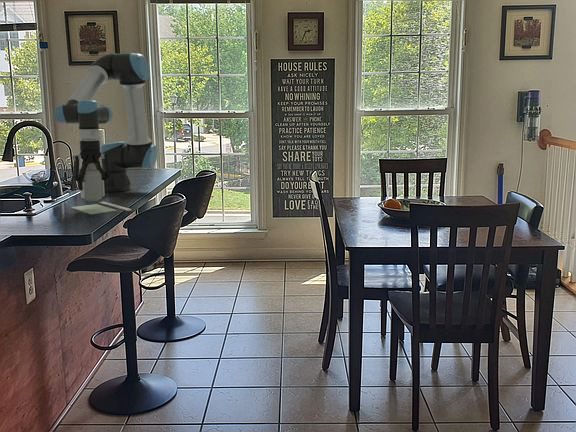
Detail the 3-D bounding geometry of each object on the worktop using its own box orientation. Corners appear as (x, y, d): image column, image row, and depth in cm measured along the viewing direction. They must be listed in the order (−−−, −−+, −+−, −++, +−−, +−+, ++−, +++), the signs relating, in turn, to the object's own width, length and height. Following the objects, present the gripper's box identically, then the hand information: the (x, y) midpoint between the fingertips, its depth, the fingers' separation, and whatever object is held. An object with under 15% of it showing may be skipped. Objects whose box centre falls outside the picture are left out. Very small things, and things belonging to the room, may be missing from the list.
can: (79, 200, 240) (77, 170, 238) (93, 197, 247) (91, 168, 245) (92, 201, 237) (91, 171, 235) (106, 199, 243) (105, 169, 241)
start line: (104, 202, 258) (104, 201, 258) (131, 210, 241) (131, 209, 241) (99, 203, 257) (99, 202, 257) (127, 211, 240) (127, 209, 240)
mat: (96, 204, 253) (96, 204, 253) (116, 211, 240) (116, 210, 240) (71, 208, 246) (70, 207, 245) (90, 214, 233) (90, 213, 233)
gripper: (68, 141, 228) (72, 200, 232) (117, 139, 242) (120, 195, 246) (60, 140, 233) (64, 198, 238) (109, 138, 247) (111, 193, 251)
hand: (92, 196), depth 242 cm, fingers closed on can, 7 cm apart
